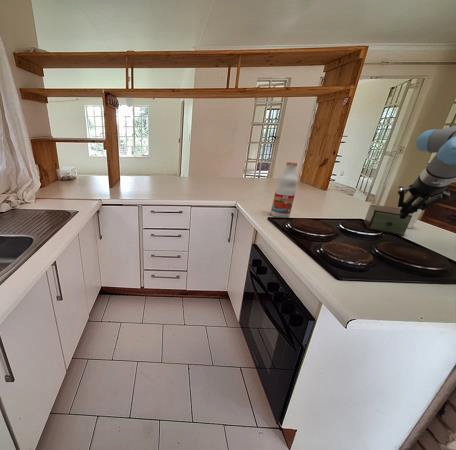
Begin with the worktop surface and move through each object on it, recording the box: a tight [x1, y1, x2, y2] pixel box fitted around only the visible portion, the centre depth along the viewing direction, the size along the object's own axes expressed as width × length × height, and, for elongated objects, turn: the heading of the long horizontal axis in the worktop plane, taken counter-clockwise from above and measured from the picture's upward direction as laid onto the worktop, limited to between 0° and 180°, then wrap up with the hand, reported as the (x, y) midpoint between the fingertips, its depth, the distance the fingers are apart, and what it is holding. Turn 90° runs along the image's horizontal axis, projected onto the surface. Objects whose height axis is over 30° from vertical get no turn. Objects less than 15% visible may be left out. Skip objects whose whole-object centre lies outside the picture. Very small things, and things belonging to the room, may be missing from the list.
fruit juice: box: [270, 161, 299, 219], centre depth 123 cm, size 9×9×28 cm
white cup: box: [399, 207, 423, 229], centre depth 118 cm, size 8×8×10 cm
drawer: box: [370, 212, 410, 235], centre depth 111 cm, size 15×11×8 cm
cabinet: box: [363, 203, 412, 237], centre depth 113 cm, size 15×13×10 cm
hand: (402, 215), depth 95 cm, fingers closed
